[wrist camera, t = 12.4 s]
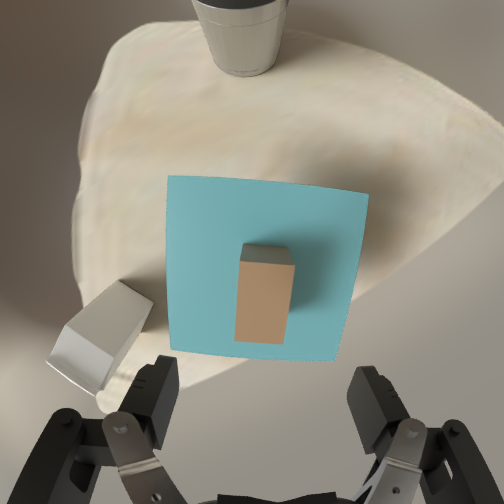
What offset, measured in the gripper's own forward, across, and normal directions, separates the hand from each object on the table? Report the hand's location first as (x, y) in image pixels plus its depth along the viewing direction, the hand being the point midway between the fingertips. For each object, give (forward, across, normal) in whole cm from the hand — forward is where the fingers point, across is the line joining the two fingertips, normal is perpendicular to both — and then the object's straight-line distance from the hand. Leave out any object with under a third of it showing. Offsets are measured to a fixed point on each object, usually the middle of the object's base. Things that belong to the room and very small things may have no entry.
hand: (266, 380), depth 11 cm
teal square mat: (+13, 0, 0) cm, 13 cm away
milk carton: (+28, +20, +13) cm, 37 cm away
